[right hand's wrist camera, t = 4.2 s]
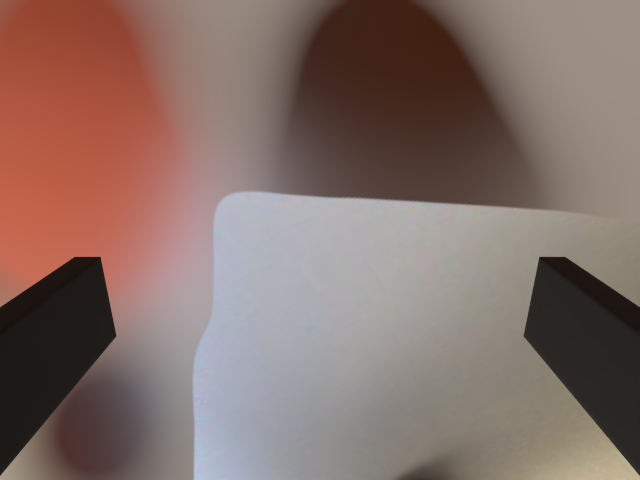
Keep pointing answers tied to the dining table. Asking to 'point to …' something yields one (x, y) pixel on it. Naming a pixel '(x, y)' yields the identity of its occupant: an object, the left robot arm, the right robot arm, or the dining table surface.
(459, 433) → the dining table surface
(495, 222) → the dining table surface
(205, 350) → the dining table surface
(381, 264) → the dining table surface
